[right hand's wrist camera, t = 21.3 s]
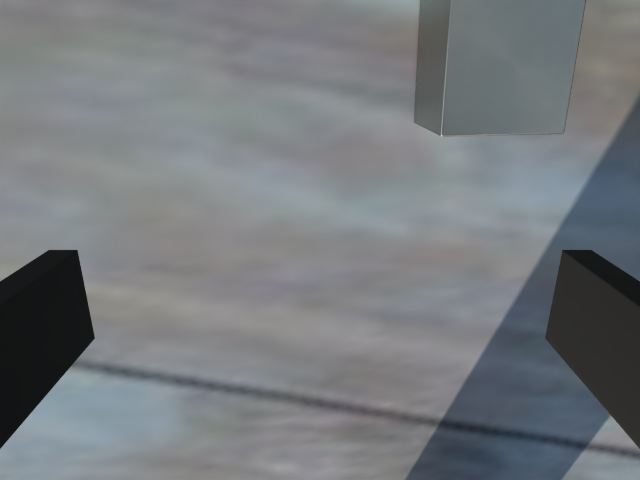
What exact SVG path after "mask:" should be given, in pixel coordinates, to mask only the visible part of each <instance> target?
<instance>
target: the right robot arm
mask: <svg viewBox="0 0 640 480" xmlns="http://www.w3.org/2000/svg"><path fill="white" fill-rule="evenodd" d="M94 338H95V337H94V332H93V327H92V322H91V317H90V312H89V307H88V302H87V297H86V291H85V286H84V281H83V276H82V271H81V266H80V261H79V256H78V251H77V250H48V251H47V252H45V253H44V254H42V255H41V256H39V257H37V258H36V259H34V260H33V261H31V262H30V263H28V264H27V265H25V266H24V267H22V268H20V269H19V270H17V271H16V272H14V273H13V274H11V275H10V276H8V277H7V278H5V279H3V280H2V281H0V448H1V447H2V446H3V445H4V444H5V443H6V441H7V440H8V439H9V438H10V437H11V436H12V434H13V433H14V432H15V431H16V430H17V429H18V427H19V426H20V425H21V424H22V423H23V422H24V420H25V419H26V418H27V417H28V416H29V415H30V413H31V412H32V411H33V410H34V409H35V407H36V406H37V405H38V404H39V403H40V402H41V400H42V399H43V398H44V397H45V396H46V395H47V393H48V392H49V391H50V390H51V389H52V388H53V386H54V385H55V384H56V383H57V382H58V381H59V379H60V378H61V377H62V376H63V375H64V374H65V372H66V371H67V370H68V369H69V368H70V367H71V365H72V364H73V363H74V362H75V361H76V360H77V358H78V357H79V356H80V355H81V354H82V353H83V351H84V350H85V349H86V348H87V347H88V346H89V344H90V343H91V342H92V341H93V340H94ZM545 338H546V340H547V341H548V342H549V343H550V344H551V346H552V347H553V348H554V349H555V350H556V351H557V353H558V354H559V355H560V356H561V357H562V358H563V360H564V361H565V362H566V363H567V364H568V365H569V367H570V368H571V369H572V370H573V371H574V372H575V374H576V375H577V376H578V377H579V378H580V379H581V381H582V382H583V383H584V384H585V385H586V386H587V388H588V389H589V390H590V391H591V392H592V393H593V395H594V396H595V397H596V398H597V399H598V400H599V402H600V403H601V404H602V405H603V406H604V407H605V409H606V410H607V411H608V412H609V413H610V415H611V416H612V417H613V418H614V419H615V420H616V422H617V423H618V424H619V425H620V426H621V427H622V429H623V430H624V431H625V432H626V433H627V434H628V436H629V437H630V438H631V439H632V440H633V441H634V443H635V444H636V445H637V446H638V447H639V448H640V281H638V280H637V279H635V278H633V277H632V276H630V275H629V274H627V273H626V272H624V271H623V270H621V269H620V268H618V267H616V266H615V265H613V264H612V263H610V262H609V261H607V260H606V259H604V258H603V257H601V256H599V255H598V254H596V253H595V252H593V251H592V250H563V251H562V256H561V261H560V266H559V271H558V276H557V281H556V286H555V291H554V297H553V302H552V307H551V312H550V317H549V322H548V327H547V332H546V337H545Z"/></svg>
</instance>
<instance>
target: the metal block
mask: <svg viewBox="0 0 640 480" xmlns="http://www.w3.org/2000/svg"><path fill="white" fill-rule="evenodd" d="M585 3H586V0H420V16H419V35H418V55H417V75H416V94H415V114H414V123H416V124H418V125H420V126H422V127H424V128H426V129H428V130H430V131H432V132H434V133H436V134H437V135H439V136H442V137H451V136H494V135H537V134H562V133H564V130H565V124H566V118H567V112H568V106H569V100H570V94H571V88H572V82H573V75H574V69H575V63H576V57H577V51H578V45H579V39H580V33H581V27H582V21H583V15H584V9H585Z"/></svg>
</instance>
